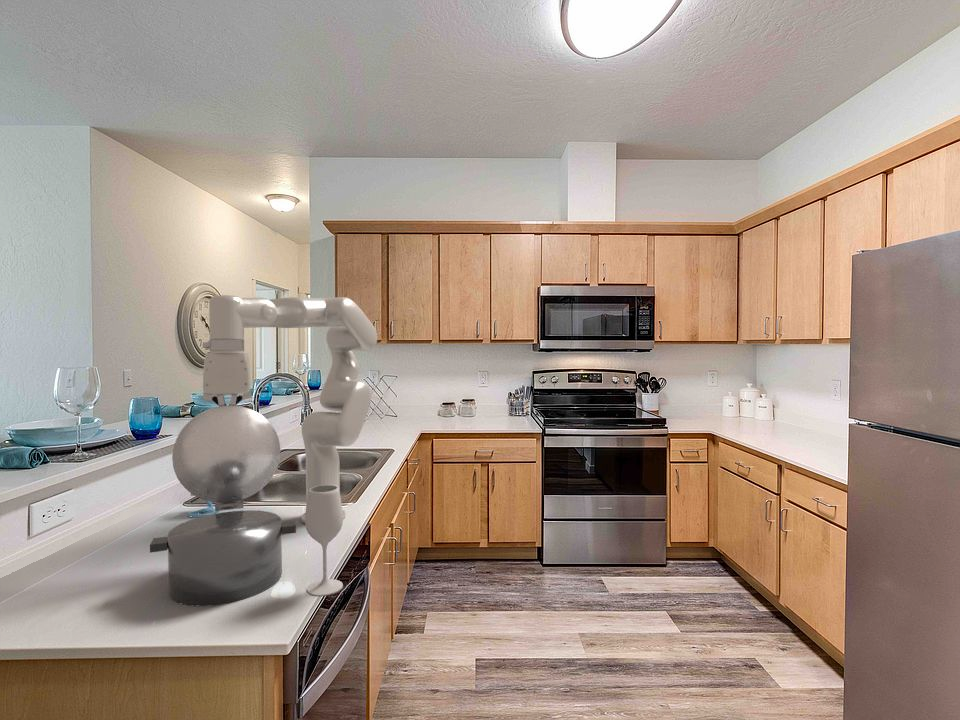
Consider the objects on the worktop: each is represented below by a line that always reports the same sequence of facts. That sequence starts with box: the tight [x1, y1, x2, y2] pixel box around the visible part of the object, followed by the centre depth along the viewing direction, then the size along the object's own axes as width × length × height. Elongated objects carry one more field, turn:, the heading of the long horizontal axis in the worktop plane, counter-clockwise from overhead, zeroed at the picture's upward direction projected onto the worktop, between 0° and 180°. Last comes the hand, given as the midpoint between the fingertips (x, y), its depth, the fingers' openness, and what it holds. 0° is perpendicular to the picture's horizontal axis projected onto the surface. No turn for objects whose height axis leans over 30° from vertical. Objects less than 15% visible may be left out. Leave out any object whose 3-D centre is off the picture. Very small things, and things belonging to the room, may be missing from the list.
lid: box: [171, 404, 281, 512], centre depth 125 cm, size 25×23×4 cm
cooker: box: [149, 510, 297, 607], centre depth 114 cm, size 22×28×12 cm
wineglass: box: [304, 485, 344, 597], centre depth 110 cm, size 8×8×21 cm
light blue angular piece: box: [187, 493, 219, 518], centre depth 161 cm, size 8×8×12 cm
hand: (227, 423), depth 126 cm, fingers closed
